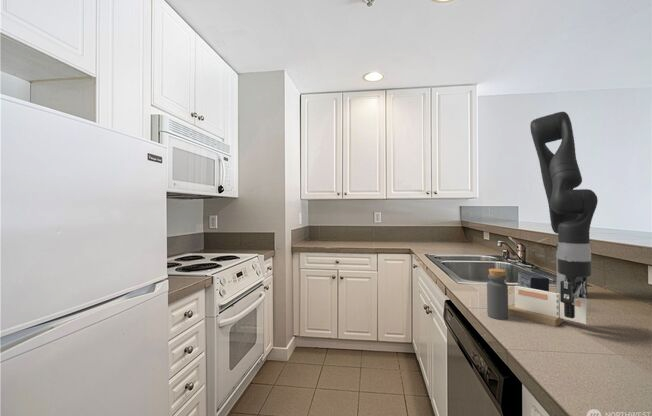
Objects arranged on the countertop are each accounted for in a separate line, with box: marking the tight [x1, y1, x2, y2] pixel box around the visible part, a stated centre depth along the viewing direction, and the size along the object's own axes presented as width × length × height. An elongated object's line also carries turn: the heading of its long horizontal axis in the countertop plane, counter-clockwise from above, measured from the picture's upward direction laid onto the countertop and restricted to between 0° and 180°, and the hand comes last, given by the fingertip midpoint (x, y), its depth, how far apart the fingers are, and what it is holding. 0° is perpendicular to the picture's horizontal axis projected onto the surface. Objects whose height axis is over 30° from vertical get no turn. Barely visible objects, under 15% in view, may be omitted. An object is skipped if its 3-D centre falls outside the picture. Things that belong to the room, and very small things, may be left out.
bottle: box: [486, 268, 509, 321], centre depth 96 cm, size 6×6×15 cm
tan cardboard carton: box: [508, 285, 565, 327], centre depth 95 cm, size 14×7×9 cm, turn 35°
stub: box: [560, 297, 588, 325], centre depth 87 cm, size 6×1×7 cm, turn 35°
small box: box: [517, 271, 550, 292], centre depth 110 cm, size 11×6×10 cm, turn 168°
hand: (574, 314), depth 86 cm, fingers open, 8 cm apart
